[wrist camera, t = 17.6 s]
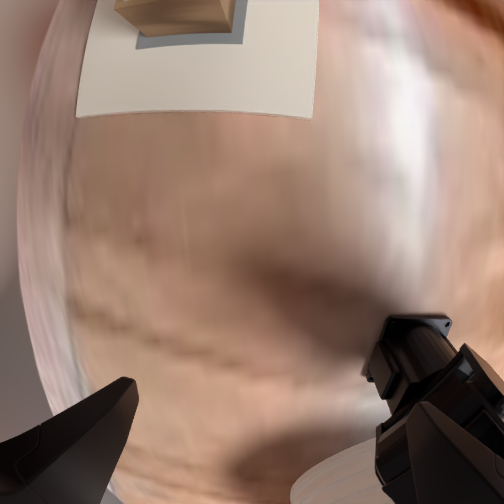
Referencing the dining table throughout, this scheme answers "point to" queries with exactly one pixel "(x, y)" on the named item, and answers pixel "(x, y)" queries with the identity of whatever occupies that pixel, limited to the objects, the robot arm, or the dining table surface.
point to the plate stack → (342, 479)
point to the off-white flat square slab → (204, 64)
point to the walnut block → (178, 16)
